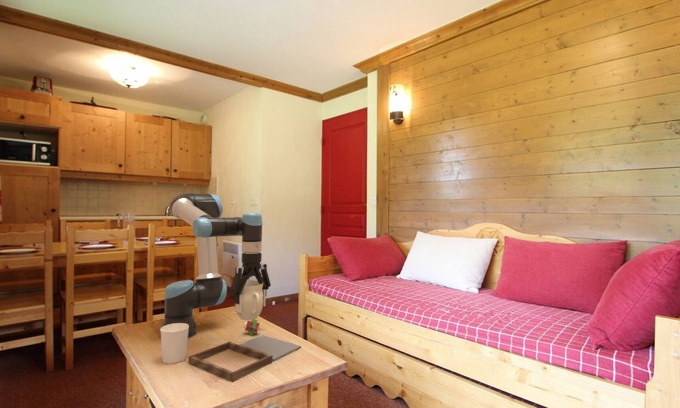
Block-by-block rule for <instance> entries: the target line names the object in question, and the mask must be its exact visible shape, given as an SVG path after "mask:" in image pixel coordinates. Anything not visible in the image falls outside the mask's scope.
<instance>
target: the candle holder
mask: <svg viewBox="0 0 680 408" xmlns="http://www.w3.org/2000/svg"><path fill="white" fill-rule="evenodd" d="M161 327H162V326H161ZM161 327H160V329H159V332H160V331H161V338H160V347H161V348H160V349H161V361H162V362H163V363H164V364H166V365H167V364H168V365H170V364H177V363H180V362H182V361H185V360H186V359H187V355H188V354H187V353H188V352H187V351H188V343H189V342H188V341H189V338H188V329H189V325H188V324H184V323H175V324H169V325H166V326H163V327H162V328H161Z"/></svg>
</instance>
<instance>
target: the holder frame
mask: <svg viewBox="0 0 680 408" xmlns="http://www.w3.org/2000/svg"><path fill="white" fill-rule="evenodd" d="M229 350H230V351H232V352H235V353H238V354H241V355H244V356H247V357H250V358H253V359H257V360H256V361H254V362H251V363H249V364H247V365H245V366H243V367H241V368H238V369H236V370H234V371H232V370H229V369H227V368H224V367H221V366H220V365H217V364H215V363H212V362H209V361H207V360H205V359H208V358H210V357H213V356H215V355H218V354H220V353H223V352H225V351H229ZM272 363H273V361H272V355H269V354H266V353H263V352H260V351H257V350H254V349H251V348H248V347H245V346H241V345H239V344H238V343H235V342H232V341H227V342H223V343H222V344H218V345H216V346H213V347H211V348H208V349H205V350H203V351H200V352H198V353H195V354H192V355H189V356H188V363H187V364H189V365H191V366H194V367H196V368H199V369H201V370H203V371H206V372H208V373H210V374H213V375H215V376H218V377H220V378H223V379H224V380H227V381H229V382H232V383H233V382H235V381H237V380H239V379H241V378H244V377H246V376H248V375H250V374H252V373H254V372H256V371H257V370H260V369H262V368H264V367H266V366H268V365H270V364H272Z"/></svg>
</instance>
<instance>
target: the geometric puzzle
mask: <svg viewBox="0 0 680 408" xmlns="http://www.w3.org/2000/svg"><path fill="white" fill-rule="evenodd" d="M260 324H261V323H260V322H258V320H257V319H253V320H246V321H245V322H244V324H243V330H244V331H245V332H246V333H247V334H248V335H250V336H251V337H252V336H253V335H254V333H255V334H256V333H258V332H259V331H260V329H261V328H260V327H261V326H260Z"/></svg>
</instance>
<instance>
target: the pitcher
mask: <svg viewBox="0 0 680 408" xmlns="http://www.w3.org/2000/svg"><path fill="white" fill-rule="evenodd" d="M262 287H263V283H262V284H259V283H258V281H257V280H252V279H250V278H249V279H248V280H247V282H246V284H245V286H244V288H243V290H242V292H241V294H240V295H242V313H239V312H236V313H237V316H238V317H239V318H240V320H243V321H252V320H253V319H255V320H257V319H258V318H259V316H260V315H261V313H262V312H263V311H262V310H263V307H264V306H263V303H264V295H263V292H262ZM234 306H235V307H234V308H235V309H236V304H235V303H234Z"/></svg>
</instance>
